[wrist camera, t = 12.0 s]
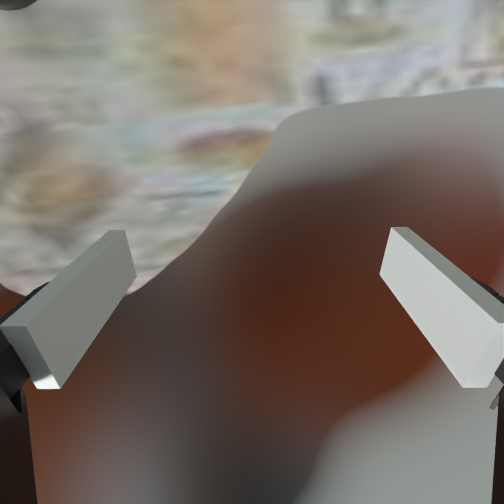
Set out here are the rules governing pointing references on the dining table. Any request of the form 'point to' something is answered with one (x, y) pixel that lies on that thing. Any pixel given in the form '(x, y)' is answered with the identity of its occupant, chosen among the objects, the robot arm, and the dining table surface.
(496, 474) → the robot arm
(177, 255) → the dining table surface
